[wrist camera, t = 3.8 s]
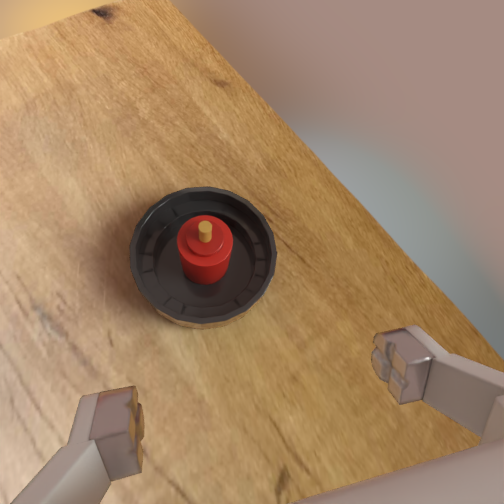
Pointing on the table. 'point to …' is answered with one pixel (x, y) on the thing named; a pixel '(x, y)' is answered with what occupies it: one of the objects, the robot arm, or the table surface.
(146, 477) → the table surface
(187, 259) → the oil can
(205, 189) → the bowl
